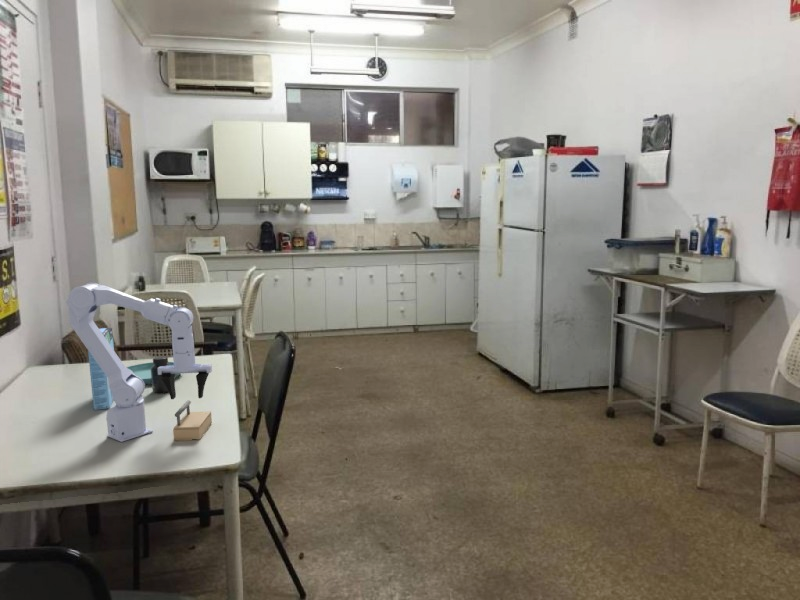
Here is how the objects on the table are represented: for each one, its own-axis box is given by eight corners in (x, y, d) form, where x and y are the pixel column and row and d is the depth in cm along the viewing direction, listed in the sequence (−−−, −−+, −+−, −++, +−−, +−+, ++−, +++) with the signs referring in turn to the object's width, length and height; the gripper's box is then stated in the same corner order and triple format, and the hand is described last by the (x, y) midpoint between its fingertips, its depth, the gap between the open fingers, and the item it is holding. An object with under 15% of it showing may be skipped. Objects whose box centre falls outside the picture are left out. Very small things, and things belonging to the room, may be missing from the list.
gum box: (109, 408, 193) (103, 338, 190) (92, 410, 192) (85, 339, 188) (118, 391, 211) (113, 327, 208) (102, 393, 210) (96, 328, 207)
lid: (173, 429, 165) (172, 414, 165) (187, 413, 178) (186, 399, 177) (199, 428, 166) (198, 413, 165) (211, 413, 178) (210, 398, 178)
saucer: (133, 369, 241) (133, 361, 241) (193, 369, 240) (193, 361, 240) (101, 387, 217) (101, 378, 217) (168, 387, 216) (167, 378, 216)
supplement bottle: (166, 387, 216) (164, 354, 214) (177, 390, 212) (174, 357, 210) (148, 391, 211) (146, 358, 209) (158, 395, 207) (156, 361, 205)
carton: (173, 440, 166) (173, 429, 165) (187, 424, 178) (187, 414, 178) (199, 439, 166) (199, 429, 166) (211, 423, 179) (211, 413, 178)
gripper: (213, 347, 174) (216, 392, 177) (161, 348, 174) (165, 394, 176) (207, 352, 168) (210, 400, 170) (153, 354, 167) (157, 402, 169)
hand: (187, 397), depth 172 cm, fingers open, 7 cm apart
